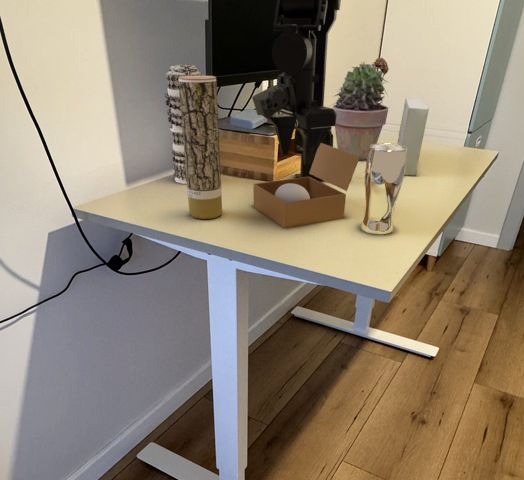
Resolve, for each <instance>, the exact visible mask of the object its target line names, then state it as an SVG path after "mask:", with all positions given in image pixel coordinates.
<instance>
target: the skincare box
mask: <svg viewBox="0 0 524 480" xmlns="http://www.w3.org/2000/svg"><path fill="white" fill-rule="evenodd" d="M429 110H430V108H429V106H428V105H427V103H426V101H425V100H424V98H417V97H416V98H415V97H405V99H404V104H403V111H402V115H401V117H402V118H401V122H400V126H399V130H398V137H397V143H396V144H400V145H404V146H406V147H407V154H406V166H405V173H404V176H416V174H417V169H418V165H419V160H420V154H421V151H422V145H423V142H424V141H423V140H424V136H425V132H426V131H425V130H426V124H427V120H428V115H429Z"/></svg>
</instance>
